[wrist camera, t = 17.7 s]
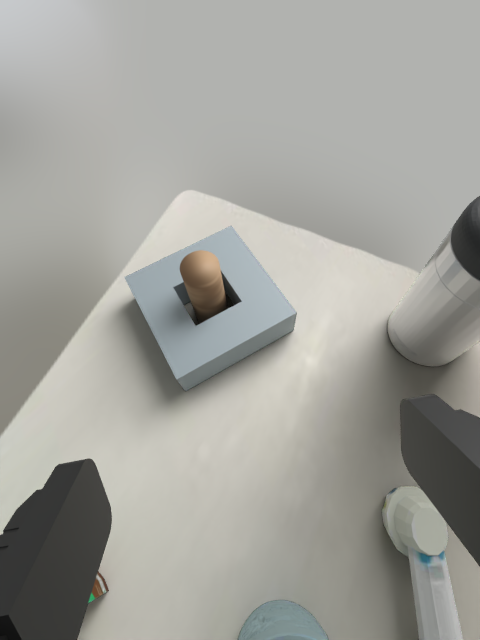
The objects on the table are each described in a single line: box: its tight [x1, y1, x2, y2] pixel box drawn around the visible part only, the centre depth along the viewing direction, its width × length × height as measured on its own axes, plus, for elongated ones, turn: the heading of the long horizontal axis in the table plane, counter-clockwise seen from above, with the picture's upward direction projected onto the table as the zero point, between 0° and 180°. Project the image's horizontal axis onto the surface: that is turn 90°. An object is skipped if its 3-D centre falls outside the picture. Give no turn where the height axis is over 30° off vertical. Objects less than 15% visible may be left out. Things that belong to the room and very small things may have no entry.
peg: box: [180, 250, 228, 323], centre depth 43 cm, size 4×4×11 cm
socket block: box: [125, 226, 297, 391], centre depth 46 cm, size 16×16×5 cm
